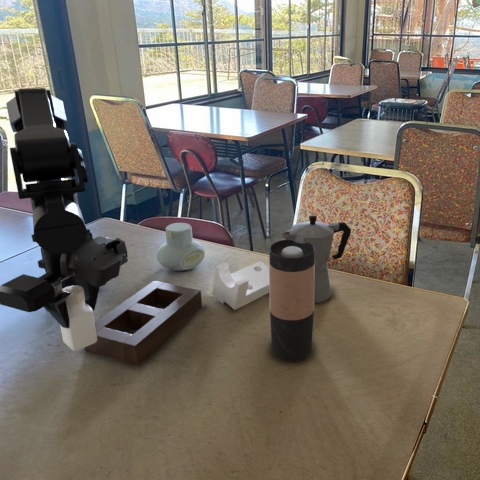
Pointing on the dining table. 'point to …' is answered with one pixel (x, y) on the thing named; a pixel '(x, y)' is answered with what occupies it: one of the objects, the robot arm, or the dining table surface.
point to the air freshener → (180, 248)
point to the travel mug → (291, 299)
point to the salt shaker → (78, 320)
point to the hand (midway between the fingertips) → (78, 318)
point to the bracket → (240, 284)
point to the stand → (144, 321)
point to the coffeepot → (320, 249)
